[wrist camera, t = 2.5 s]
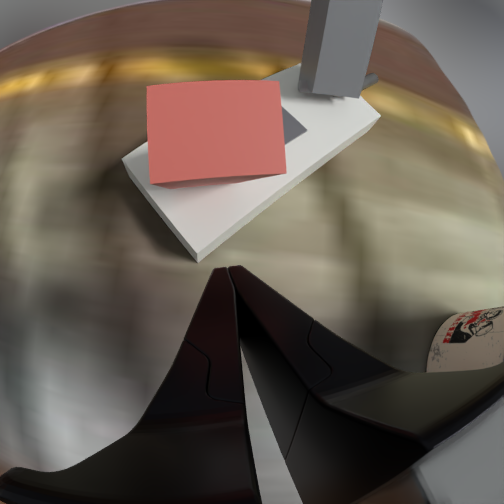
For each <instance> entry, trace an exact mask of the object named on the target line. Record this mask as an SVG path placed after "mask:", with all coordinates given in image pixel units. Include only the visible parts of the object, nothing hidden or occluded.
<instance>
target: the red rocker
mask: <svg viewBox="0 0 504 504" xmlns="http://www.w3.org/2000/svg"><path fill="white" fill-rule="evenodd" d="M147 136H148V159H149V176H150V184H152V185H156V186H160V187H163V188H167V189H177V188H186V187H197V186H208V185H220V184H233V183H241V182H246V181H250V180H255V179H260V178H265V177H271V176H276V175H281V174H287V171H286V156H285V142H284V130H283V118H282V106H281V95H280V85H279V81H267V80H215V81H195V82H181V83H170V84H161V85H152V86H147Z"/></svg>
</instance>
